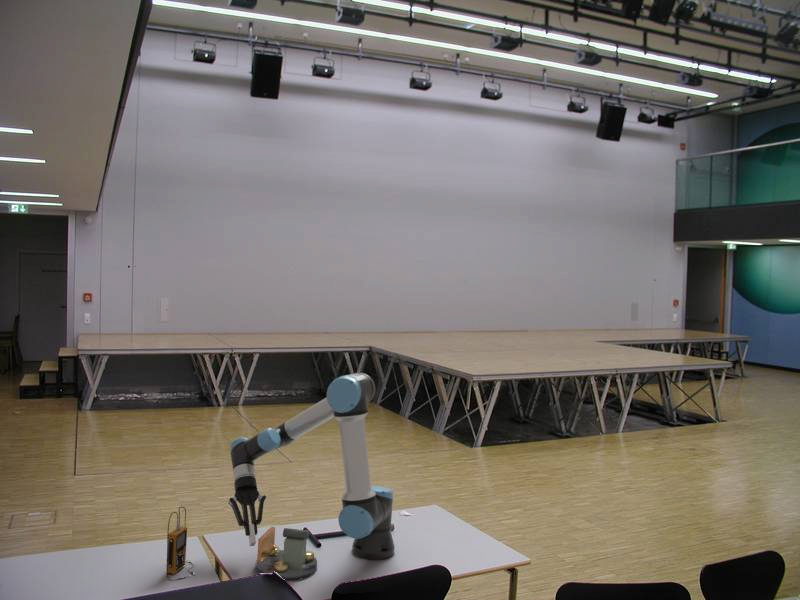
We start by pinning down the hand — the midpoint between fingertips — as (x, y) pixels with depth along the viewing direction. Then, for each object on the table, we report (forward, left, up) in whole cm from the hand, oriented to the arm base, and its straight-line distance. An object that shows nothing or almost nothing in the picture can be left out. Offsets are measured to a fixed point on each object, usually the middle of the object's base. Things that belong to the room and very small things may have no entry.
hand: (252, 544), depth 233 cm
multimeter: (+18, +10, -7) cm, 22 cm away
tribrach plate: (-12, -1, -7) cm, 14 cm away
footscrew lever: (-5, +1, -5) cm, 7 cm away
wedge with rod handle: (-15, +1, -5) cm, 15 cm away
